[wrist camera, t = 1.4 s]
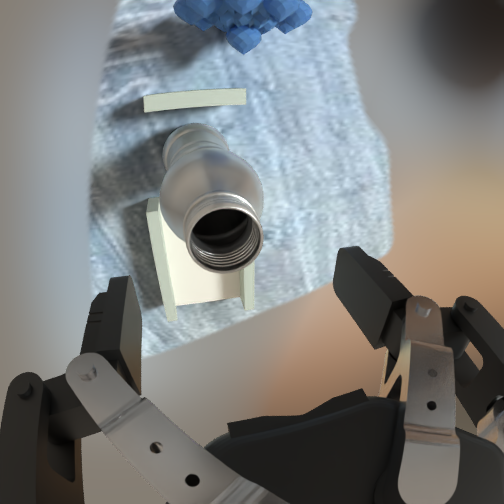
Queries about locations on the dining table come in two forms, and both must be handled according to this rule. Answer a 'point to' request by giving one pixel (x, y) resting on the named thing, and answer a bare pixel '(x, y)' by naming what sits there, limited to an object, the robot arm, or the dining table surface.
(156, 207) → the cradle
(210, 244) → the silver metal bottle
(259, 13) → the grapes
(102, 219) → the dining table surface
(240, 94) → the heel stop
